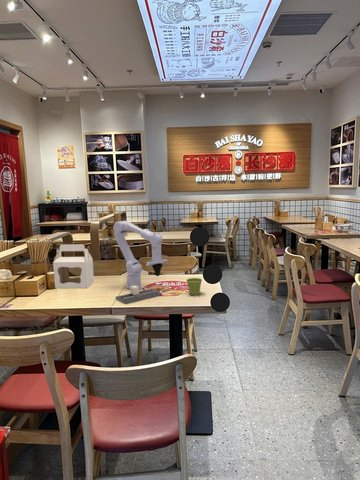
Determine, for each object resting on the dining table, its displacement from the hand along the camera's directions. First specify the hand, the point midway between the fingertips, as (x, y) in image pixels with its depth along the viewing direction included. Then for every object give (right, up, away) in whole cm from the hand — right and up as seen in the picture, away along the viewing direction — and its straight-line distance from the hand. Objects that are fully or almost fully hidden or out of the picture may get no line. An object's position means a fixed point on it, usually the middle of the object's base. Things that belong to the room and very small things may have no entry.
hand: (157, 275), depth 208 cm
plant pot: (+23, -10, -8) cm, 26 cm away
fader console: (-10, -11, -11) cm, 19 cm away
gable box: (-57, -9, +18) cm, 60 cm away
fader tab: (-12, -10, -13) cm, 20 cm away
